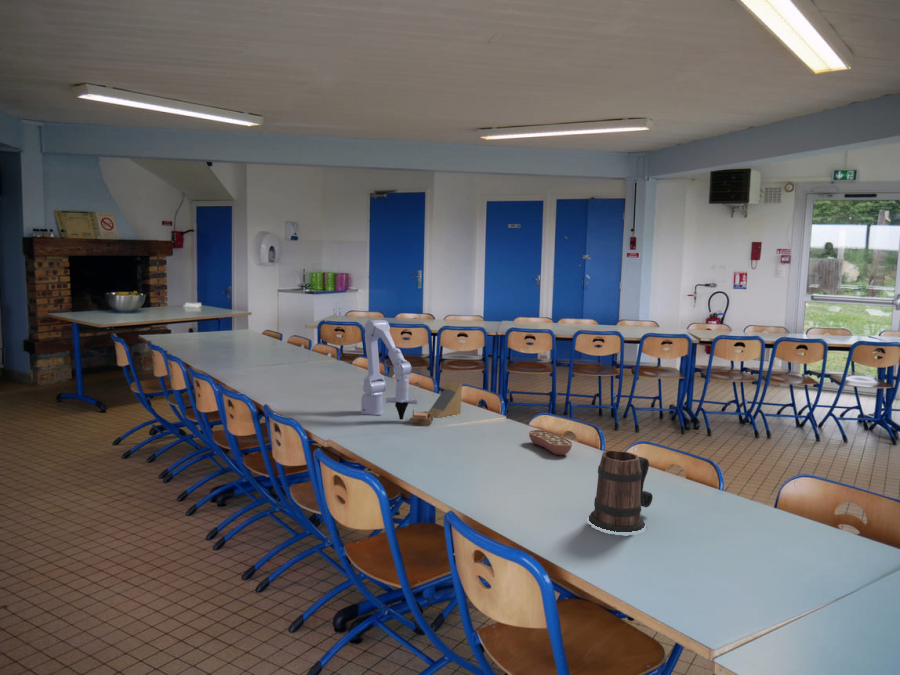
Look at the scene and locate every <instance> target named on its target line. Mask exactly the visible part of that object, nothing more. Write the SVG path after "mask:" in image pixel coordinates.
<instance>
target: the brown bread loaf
mask: <svg viewBox="0 0 900 675" xmlns="http://www.w3.org/2000/svg"><path fill="white" fill-rule="evenodd" d="M528 435H529V436H528V437H529V439H530V440H531V442H532V443H533V444H535V445H536V446H539V447H542V448H543V447H544V449H546V450H548V451H550V452H551V453H552V454H554V455H556V456H565V455H567V454H568V453H569V452H570V451H571V449H572V446H573V442H572V441H570V440H569V439H567V438H565V437H564V436H561V435H559V434H557V433H554V432H551V431H548V430H542V429H534V430H530V431H529V432H528Z"/></svg>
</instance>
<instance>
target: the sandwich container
mask: <svg viewBox="0 0 900 675" xmlns="http://www.w3.org/2000/svg"><path fill="white" fill-rule="evenodd" d="M462 387H463V384H462V383H459V382H455V381H451V380H449V381H448V383H447V384H446V386H445V388H444V389H443V391H441V393H440V395H439V396H438V397H437V399H436V400H435V402H434V403H433V405H432V406H431V408H430V409H429V410H428V411H427V413H428V414H433V417H434V418H441V419H443V418H442V417H446V418H448V417H447V416H451V417H453V416H452V415H456V416H458V415H457V414H460V415H461V414H462V413H461V411H462V410H461V408H462V392H463V390H462V389H463V388H462ZM434 418H433V419H434Z"/></svg>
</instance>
